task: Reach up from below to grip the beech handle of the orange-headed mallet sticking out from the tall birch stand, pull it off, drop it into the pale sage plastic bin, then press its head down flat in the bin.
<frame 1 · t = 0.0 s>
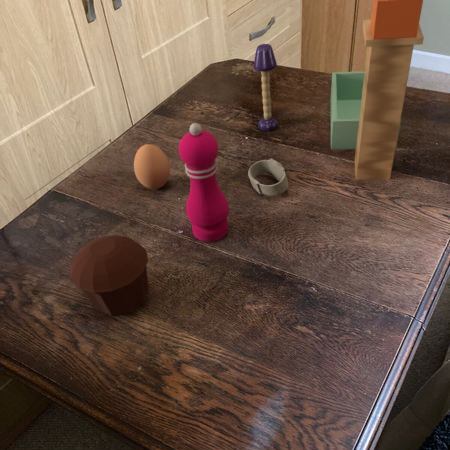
bin: (360, 123, 106), on the table
grey band loop: (268, 187, 93), on the table
pepper mill: (210, 231, 86), on the table
stand: (370, 177, 92), on the table
egg: (156, 187, 97), on the table
muffin: (120, 295, 78), on the table
mallet: (392, 30, 72), point 26 cm above the table, touching stand
toy lamp: (267, 126, 109), on the table
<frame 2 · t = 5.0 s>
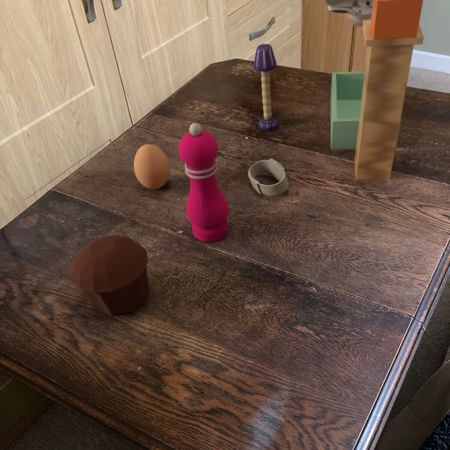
nothing on the table moved.
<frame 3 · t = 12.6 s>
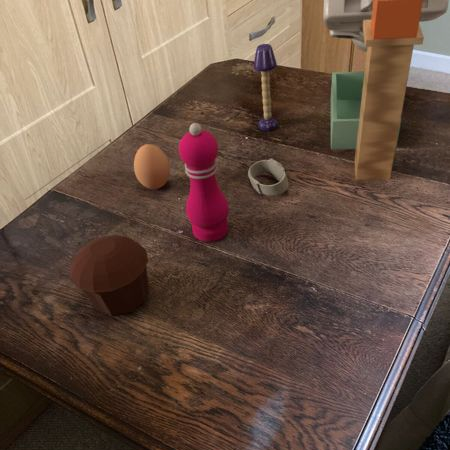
mallet: (392, 30, 72), point 26 cm above the table, touching gripper, stand
everything else where it was.
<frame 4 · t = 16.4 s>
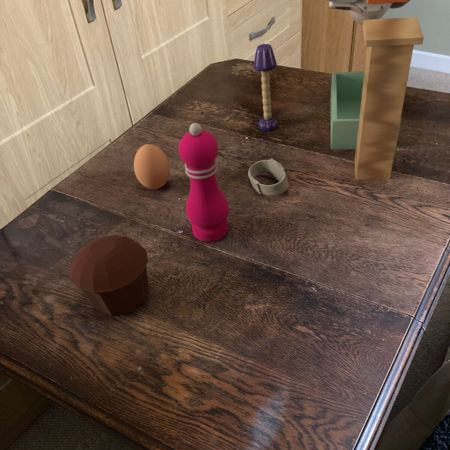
when the fingers open (15 cm above the table, at t = 20.3 s): mallet drops 13 cm, resting on bin.
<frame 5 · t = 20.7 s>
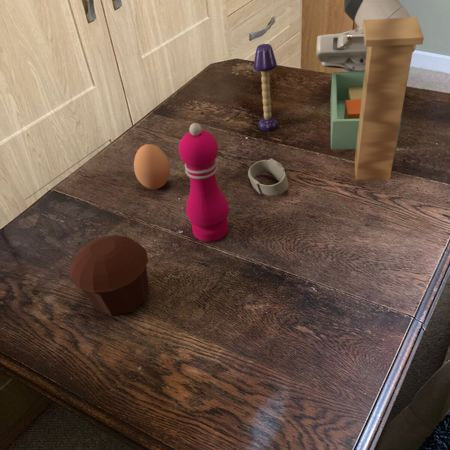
hand: (368, 38, 97), 15 cm above the table, tool pointing upward, fingers open, 6 cm apart
mallet: (359, 129, 103), resting on bin
everything else where it was.
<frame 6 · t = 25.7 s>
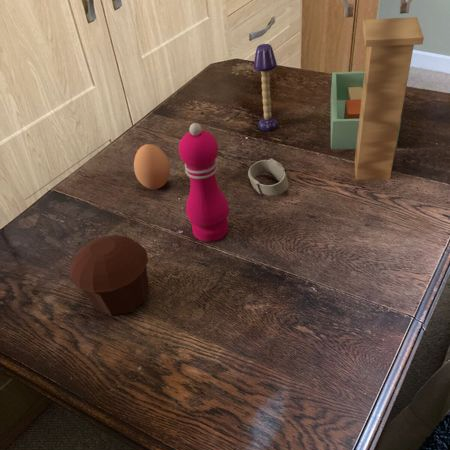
hand: (375, 14, 88), 22 cm above the table, tool pointing down, fingers open, 8 cm apart
nothing on the table moved.
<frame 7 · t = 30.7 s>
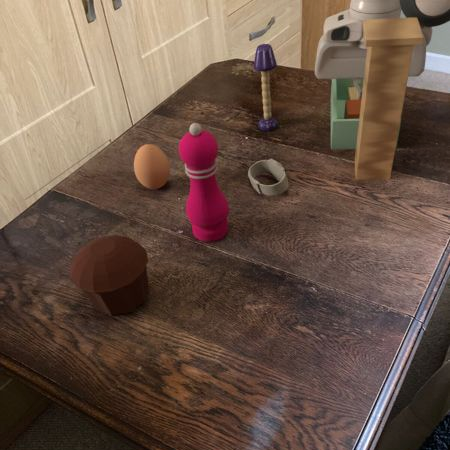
hand: (364, 98, 98), 7 cm above the table, tool pointing down, fingers closed
nothing on the table moved.
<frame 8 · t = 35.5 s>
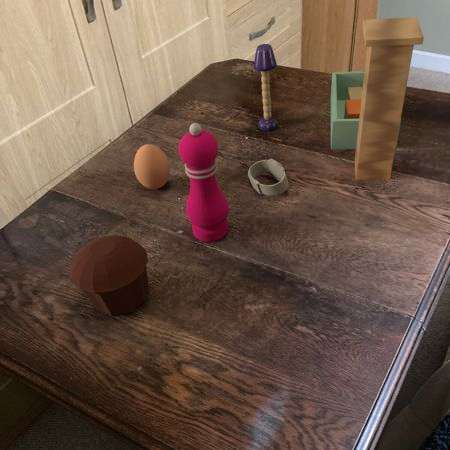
nothing on the table moved.
at the end: mallet inside the target area in the bin (3.1 cm from its centre), point 0.5 cm above the bin's base; mallet tilted 0°; the gripper is holding nothing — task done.
